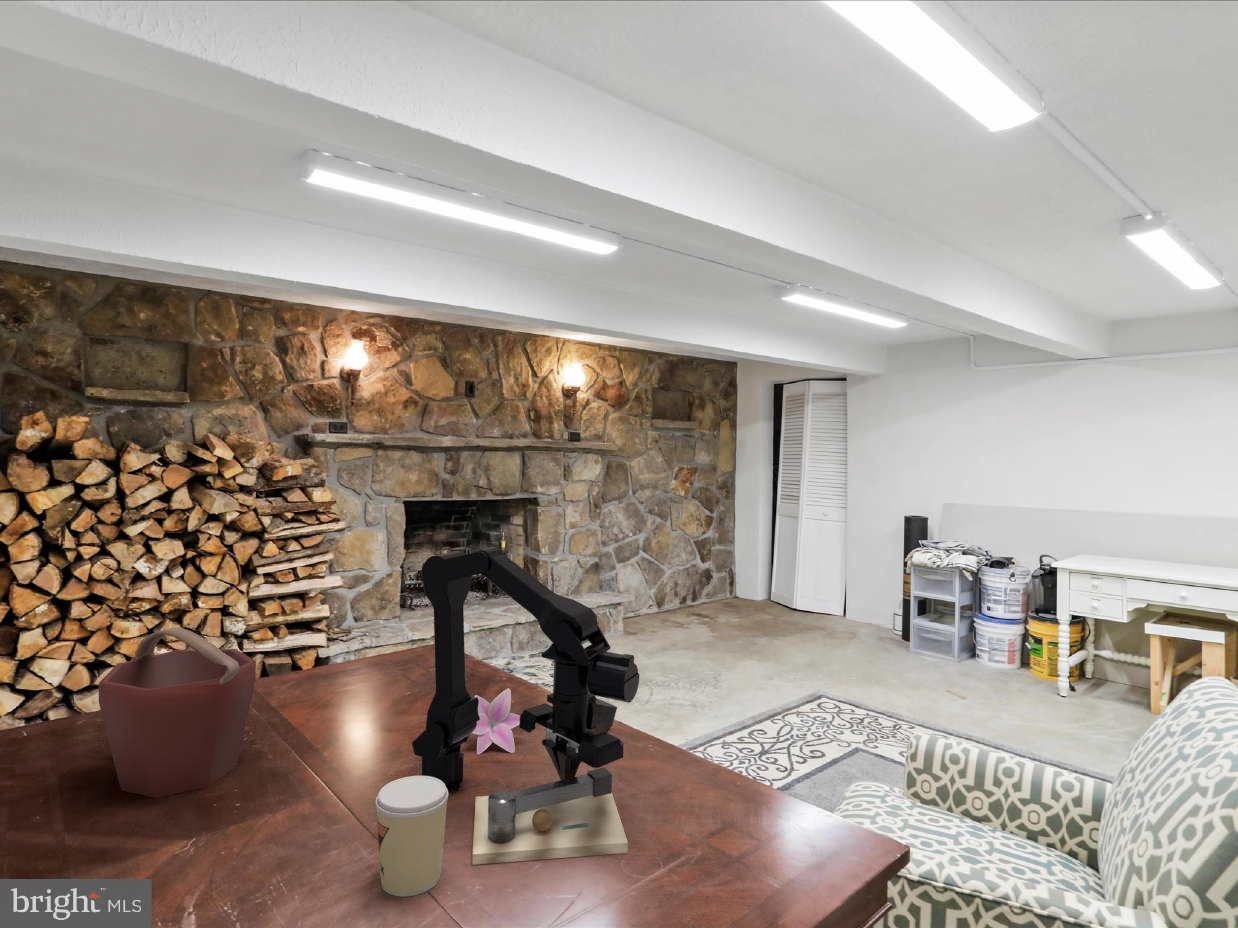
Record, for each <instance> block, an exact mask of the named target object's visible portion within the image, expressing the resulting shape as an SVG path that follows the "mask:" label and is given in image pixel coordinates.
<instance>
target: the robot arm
mask: <svg viewBox="0 0 1238 928" xmlns="http://www.w3.org/2000/svg"><path fill="white" fill-rule="evenodd" d="M476 575H481V576H483V577H484V578H485V579H487V580H488V581H489V582H490V583H491V584H493V585H494V586H496V587H497V588H498V589H499V590H501V591H502V593H503V592H504V594H506V595H507V596H508V597H509V598H511V600H513V601H514V602H516V603H517V604H519V606H521V607H522V608H523V609H525V610H526V611H527V612H528V613H529V614H531V615H532V617H534V618H535V619H536V621H537V622H538V625H539V627H540V629H541V632H542V633H543V634H544V635H545V636H546V638H547V639H549V640H550V642H551V645H550V646H549V647H548V648H547V649H546V650H545V651H544V652H542V653H541V655H540V656H541V658H542V659H546V660H547V659H548V660H551V661H552V660H553V679H552V680H553V683H552V684H553V685H552V693H549V694H547V695H546V702H547V703H546V702H544V703H542V704H538V705H535V706H532V707H529V708H526V709H523V710H522V713H521V714H520V724H519V725H518V726H519V727H518V728H520V729H521V730H523V731H525V732H526V733H529V734H530V733H533V731H535V730H536V724H538V725H540V726H542V727H544V730H543V731H544V732H545V739H543V740H541V745H542V746H543V747H544V748H545V750H546V752H547V754H548V756H549V757H550V760H551V762H552V763H553V765H554V768H555V770H556V772H557V774H558V777H559V779H560V780H564V779H569V778H573V777H576V776H577V772H578V770H579V767H580V765H581V763H584V764H586V765H587V766H589V767H591V768H593V769H594V768H595V769H599V768H603V767H604V766H606V765H609V764H611V763H613V762H615V761H618V760H620V759H621V760H622V758H624V746H625V745H624V742H623V741H622V740H621V738H618V737H617V736H614V735H612V734H611V733H608V732H607V733H606V732H602V733H599V734H596V735H595V734H593V733H591V732H589V731H587V730H588V729H591V730H593V729H596V728H597V724H603V725H608V726H609V728H612V727H613V725H614V720H615V717H616V713H617V711H618V706H616V705H614V704H612V703H609V702H608V701H605V700H603V699H599V698H597V697H600V698H605V699H610V700H615V701H618V702H623V703H629V704H630V703H632V702H633V700H634V699H635V697H636V695H637V693H638V692H637V691H638V688H639V683H640V673H639V670H638V669H639V668H638V665H637V664H635V655H633V654H629V653H623V654H622V653H616V652H611V651H610V650H611V645H610V644H609V642H608V640H607V638H606V637H605V635H604V633H603V632H602V630H601V628H600V626H599V622H598V616H597V614H596V613H595V611H593V609H591V608H589V606H586V605H585V604H583V603H581V602H579V601H577V600H575V599H573V598H569V597H566V596H563V595H559V594H557V593H556V592H554V591H553V590H551V589H550V588H549V587H547V586H546V585H544V584H543V583H542V582H540V581H539V580H538V579H537V578H536V577H534V576H533V575H531V574H530V573H529V572H527V571H526V570H525V569H524V568H522V567H521V566H520V565H519V564H517V563H516V562H514V561H513V560H512V559H511V558H509V557H508V556H507V555H505V553H504V551H503V550H502V549H501V548H498V547H493V546H492V547H491V546H490V547H487V548H483V549H479V550H477V551H475V552H472V553H468V554H466V553H465V552H464V551H460V550H455V551H454V550H453V551H449V552H445V553H440V554H435V555H431V556H430V557H428V558H426V560H425V561H424V562H423V563H422V565H421V579H422V585H423V591H424V594H425V596H426V597H427V599H428V600H429V602H430V604H431V605H432V608H433V634H434V635H433V636H434V638H433V639H434V672H435V673H434V675H435V676H434V677H435V678H434V679H435V681H434V682H435V683H434V684H435V693H434V695H433V697H432V698H431V699H432V700H431V702H430V705H429V707H428V709H427V712H426V713H427V714H426V722H425V730H423V732H421V733H420V734H419V735H418V736H417V737H416V738H415V739H414V740H413V741H412V742H411V746H412V749H413V753H414V756H418V757H421V776H430V777H434V778H437V779H439V780H441V781H442V782H443V783H444V784H445V786H446V788H447V790H448V793H450V792H451V793H453V792H454V793H455V792H459V791H460V790H461V784H462V783H463V782H464V777H465V775H464V774H465V753H464V752H461V751H462V749H461V748H462V745H463V744H465V743H467V742H468V741H469V739H470V736H471V735H472V734H473V733H472V732H473V731H474V730H475V728H476V725H477V721H479V720H480V717H479V715H478V704H479V700H478V698H477V697H472V696H471V694H470V693H469V691H468V690H467V688H466V659H465V657H466V656H465V653H466V652H465V622H464V621H465V620H464V618H465V617H464V616H465V615H464V611H465V610H464V606H465V605H464V604H465V601H466V599H467V597H468V594H469V592H470V591H471V588H472V583H473V582H472V581H473V576H476ZM588 642H589V643H590V645H588V646H586V647H584V646H583V644H586V643H588ZM548 703H549V704H548ZM550 704H551V705H550Z"/></svg>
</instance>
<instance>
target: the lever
mask: <svg viewBox="0 0 1238 928" xmlns="http://www.w3.org/2000/svg"><path fill="white" fill-rule="evenodd" d="M612 786H613V773H611V772H610V771H609V770H608V769H607V768H606V767H604V766H602V767H599V768H595V769H592V770H587V772H586V774H582V775H578V776H577V775H576V776H575V777H573V778H569V779H564V780H561V779H560V780H557V781H552V782H547V783H545V784H540V785H535V786H531V787H527V788H523V789H518V790H514V791H507V790H499V791H498V790H497V791H495V792H493V793H491V794H490V795H488V796H489V797H488V839H489V840H491V841H493V842H497V843H503V842H507V841H510V840H512V839H513V838H514V837H515V829H516V814H519V813H523V812H527V811H531V810H535V809H539V808H543V807H547V806H551V805H555V804H559V803H563V802H567V801H571V800H575V799H579V798H583V797H587V796H591V795H592V796H593V797H598V796H602V795H606V794H610V793H612V789H613V787H612ZM612 794H613V793H612Z"/></svg>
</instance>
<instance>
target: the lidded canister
mask: <svg viewBox="0 0 1238 928" xmlns="http://www.w3.org/2000/svg"><path fill="white" fill-rule="evenodd" d="M448 799H449V792H448V790H447V788H446V786H445V784H444V783H443V782H442V781H441V780H439V779H437V778H434V777H430V776H422V775H412V776H411V775H410V776H405V777H401V778H398V779H395V780H392V781H390V782H388V783H387V784H385V785H384V786H383V787H381V789H380V790H379V792H378V794H377V796H376V798H375V808H376V821H377V837H378V838H377V839H378V855H379V873H380V883H381V887H382V889H383V890H384V891H385V892H386V893H387V894H389V895H392V896H396V897H405V898H406V897H413V896H417V895H421V894H423V893H426V892H428V891H430V890H431V889H432V888H434V887H435V886H436V885H437V884H438V883H439V881H440V878H441V873H442V865H443V864H442V863H443V854H444V853H443V852H444V843H445V841H444V840H445V830H446V818H447V806H448V805H447V803H448Z"/></svg>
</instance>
